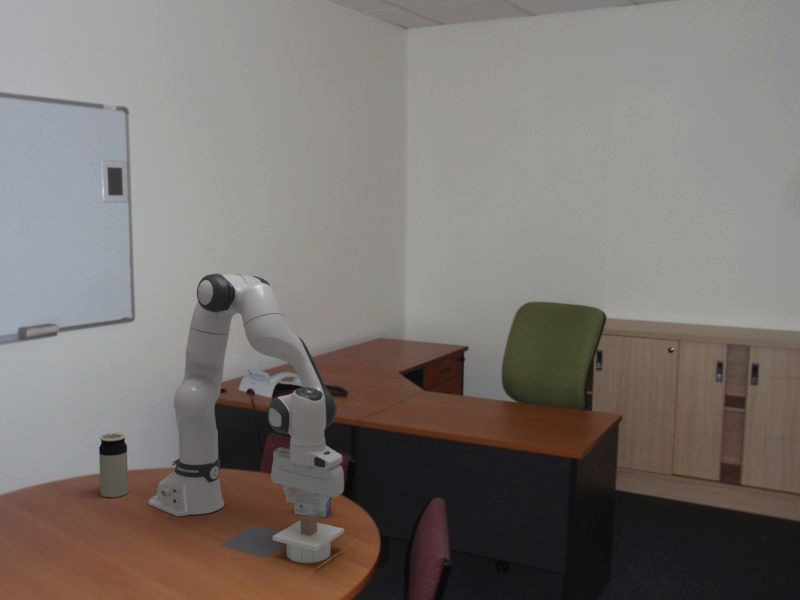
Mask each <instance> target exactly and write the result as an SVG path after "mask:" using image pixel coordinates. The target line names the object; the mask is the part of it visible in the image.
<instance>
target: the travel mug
mask: <svg viewBox="0 0 800 600" xmlns="http://www.w3.org/2000/svg"><path fill="white" fill-rule="evenodd" d="M126 437H127V435H126V433H125V434H124V433H123V432H110V433H104V434H103V435H100V436H99V440H100V443H101V444H100V445H99V447H98V453H99V460H98V461H99V485H100V486H99V487H100V488H99V489H100V493H99V495H101V496H102V497H105V498H108V497H110V498H112V499H113V498H120V497H122V496H125V495H126V494H128V493H129V481H128V480H129V478H128V477H129V476H128V475H129V474H128V472H129V471H128V445H127V443H126V441H125V440H126Z"/></svg>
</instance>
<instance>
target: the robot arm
mask: <svg viewBox="0 0 800 600" xmlns="http://www.w3.org/2000/svg"><path fill="white" fill-rule="evenodd" d="M196 289H197V290H196V298H197V300H196V301H197V302H196V305H195V307H194V310H193V313H192V317H191V322H190V326H189V331H188V337H187V341H186V342H187V343H186V347H185V366H184V367H185V369H184V375H183V380H182V382H181V384H180V385H179V386H178V387H177V388H176V390H175V392H174V397H173V409H174V413H175V420H176V426H177V430H178V433H177V434H178V458H177V460H173V461H172V462H171V463H172V464H171V466H175V468H174V470H173V471H172V472H171V473H169V474H168V475H167V476H166V477H164V478H163V479H162V480H160V481H159V483H158V485H157V488H156V494H155V495H154V496H152V497H151V498H149V500H148V505H149V506H151V507H153V508H156V509H159V510H161V511H163V512H166V513H168V514H171V515H173V516H176V517H184V516H189V515H191V516H192V515H204V514H209V513H214V512H215V511H218V510H220V509H222V508H223V507H224V505H225V501H224V497H223V493H222V489H221V482H220V481H221V480H220V470H221V461H220V460H221V459H220V457H219V436H218V434H219V431H218V429H217V423H216V422H217V421H216V414H215V411H216V410H215V407H216V406H215V405H216V403H217V401H218V399H219V398H220V395H221V390H222V383H223V374H224V364H225V357H226V353H227V346H228V341H229V335H230V331H231V323H232V319H233V317H234V316H235V315H236V314H237V315H238V314H240V316H241V321H242V324H243V328H244V333H245V335H246V339H247V341H248V343H249V345H250V346H251V348H252V349H253V350H255V351H256V352H257V353H259V354H261V355H264V356H265V357H266V356H267V357H271V358H275V359H277V360H281V361H283V362H285V363H286V364H287V363H288V364H289V365H290V366H292V367H293V369H294V371H295V372H296V374H297V377H298V379H299V381H300V384H301V385H302V387H298V388H297V389H295V390H293V392H292V393H289V394H286V395H285V394H284V395H280V396H278V397H274V399H272V401H271V402H270V403H269V406H268V407H267V408H268V409H267V423H268V425H269V427H271V428H272V430H274V431H275V432H276V433H279V434H287V435H290V442H289V448H284V447H282V446H281V447H280V446H279V447H278V448H275V450H274V451H273V453H272V455H273V457H272V460H273V461H272V465H271V473H270V479H271V481H272V483H273V484H277V485H281V486H282V490H283V492H284V493H285V496H286V503H289V504H295V494H294V493H293V491H292V489H291V488H294V489H295V488H297V489H301V490H305V491H309V492H313V493H317V494H321V498H322V499H323V500H322V502H320V503H318V504H317V507H318V508H317V510H319V511H324V510H325V509H326V503H327V501H328V500H329V498H330V497H332V498H336V497H338V496H340V495H342V493H343V492H344V490H345V477H344V476H345V475H344V469H343V467H342V465H341V463H342V462H343V455H342V454H341V453H339V452H337V451H336V450H334V449H332V448H331V447H330V446H328V445H327V444H326V437H325V430H326V429H328V428H329V427H330V426H331V425H332V424H333V422H334V421H335V418H336V417H337V413H338V408H337V403H336V401H335V399H334V397H333V396H332V394H331V392H330V391H329V389H328V388H327V386H326V384H325V383H324V381H323V379H322V376H321V374H320V371H319V370H318V367H317V365H316V363H315V362H314V361H315V360H314V359H313V357H312V355H311V353H310V350H309V348H308V347H307V345H306V343H305V342H304V340H303V339H302V338H301V337H299V336H298V335H296V334H295V332H294V331H293V330H292V329H291V327H290V326H289V324H288V323H287V321H286V317H285V314H284V311H283V307H282V306H281V303H280V301H279V298H278V296H277V295H276V292H275V291H274V289H273V287H272V286H271V284H270V282H269V281H268V280H266V279H264V278H262V277H259V276H255V275H254V276H251V275H247V274H241V273H233V274H231V273H229V274H228V273H224V274H223V273H222V274H221V273H212V274H206V275H204V276H203V277H202V278H201V279H200V281H199V283H198V285H197V288H196Z"/></svg>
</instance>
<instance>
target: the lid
mask: <svg viewBox="0 0 800 600" xmlns="http://www.w3.org/2000/svg"><path fill="white" fill-rule="evenodd" d="M344 532H345V528H342V527H339V526H338V527H337V526H333V525H331V524H330V525H329V524H326V523H325V524H324V523H321V522H318V517H317V516H312V515H308V514H307V515H303V516H301V518H300V519H299V520H298V521H296V522H295V523H293V524H291V525H290V526H287V527H286V528H284V529H283V530H281V531H279V533H278V534H276V535H274V536H273V540H274V541H278V542H282V543H286V544H290V545H294V546H298V547H302V548H306V549H310V550H314V551H317V550H319V549H320V548H322V547H323V546H325V545H326V544H328V543H329V542H332V541H333V540H335V539H336V538H338V537H339V536H341V535H343V534H344Z"/></svg>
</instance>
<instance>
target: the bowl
mask: <svg viewBox="0 0 800 600" xmlns="http://www.w3.org/2000/svg"><path fill="white" fill-rule="evenodd" d="M331 542H332V541H331ZM331 542H329V543H328V544H326V545H325V546H323V547H322V548H320V549H319V550H317V551H314V550H310V549H306V548H302V547H298V546H294V545H290V544H287V545H286V557H287V558H288V559H289V560H291V561H292V562H296V563H299V564H300V563H301V564H314V563H318V562H323V561H324V562H325V560H327V559H329V558H330V557H331V551H332V550H331V548H332V547H331V545H332V543H331Z"/></svg>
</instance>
